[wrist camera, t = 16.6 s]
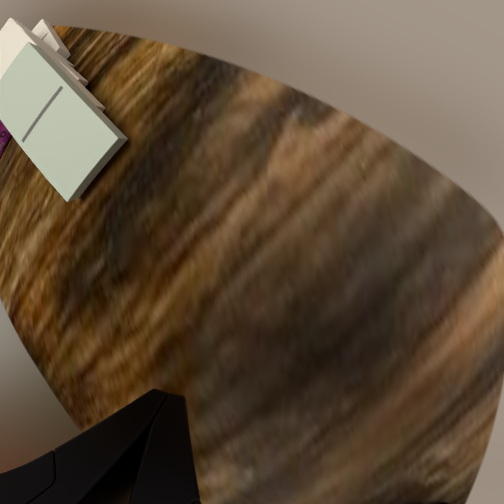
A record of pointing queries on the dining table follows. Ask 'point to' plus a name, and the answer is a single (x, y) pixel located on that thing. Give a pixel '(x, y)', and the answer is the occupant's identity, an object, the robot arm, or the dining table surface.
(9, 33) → the ivory domino
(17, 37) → the ivory domino
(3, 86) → the sage domino
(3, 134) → the candy bar box
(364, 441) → the dining table surface
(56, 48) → the ivory domino
